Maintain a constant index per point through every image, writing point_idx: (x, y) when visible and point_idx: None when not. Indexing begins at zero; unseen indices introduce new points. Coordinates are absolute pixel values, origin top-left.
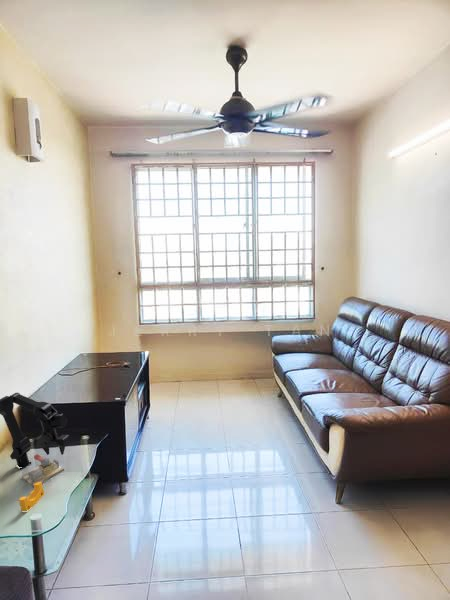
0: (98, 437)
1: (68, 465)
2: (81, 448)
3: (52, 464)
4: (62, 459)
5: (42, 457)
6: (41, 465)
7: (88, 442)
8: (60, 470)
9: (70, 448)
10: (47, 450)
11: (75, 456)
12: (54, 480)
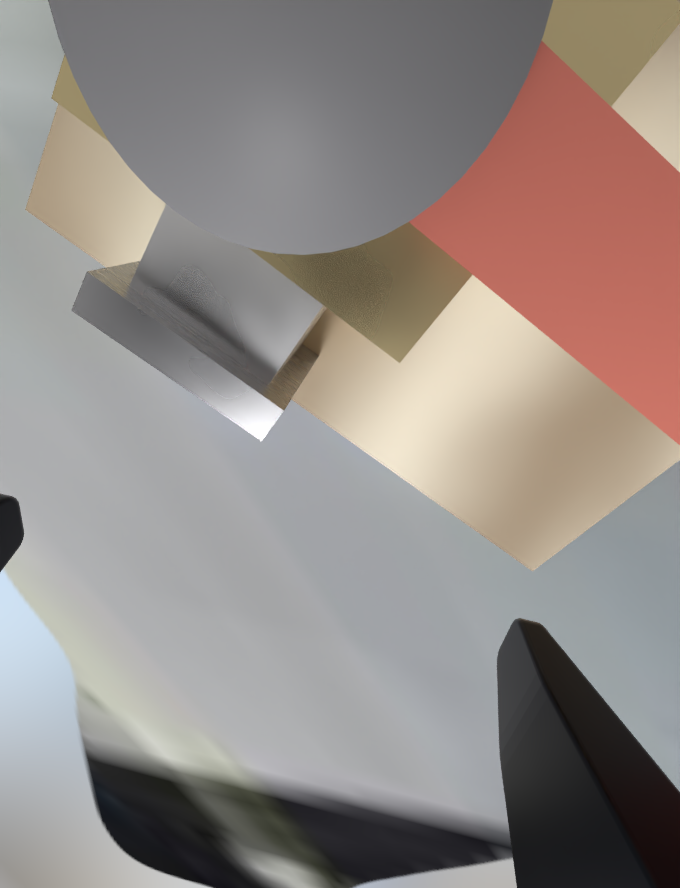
0: (128, 830)
1: (88, 365)
2: (193, 722)
3: None
4: (328, 564)
5: (632, 402)
6: None
7: (184, 794)
8: (54, 136)
9: (358, 764)
10: (542, 779)
11: (150, 583)
12: None
